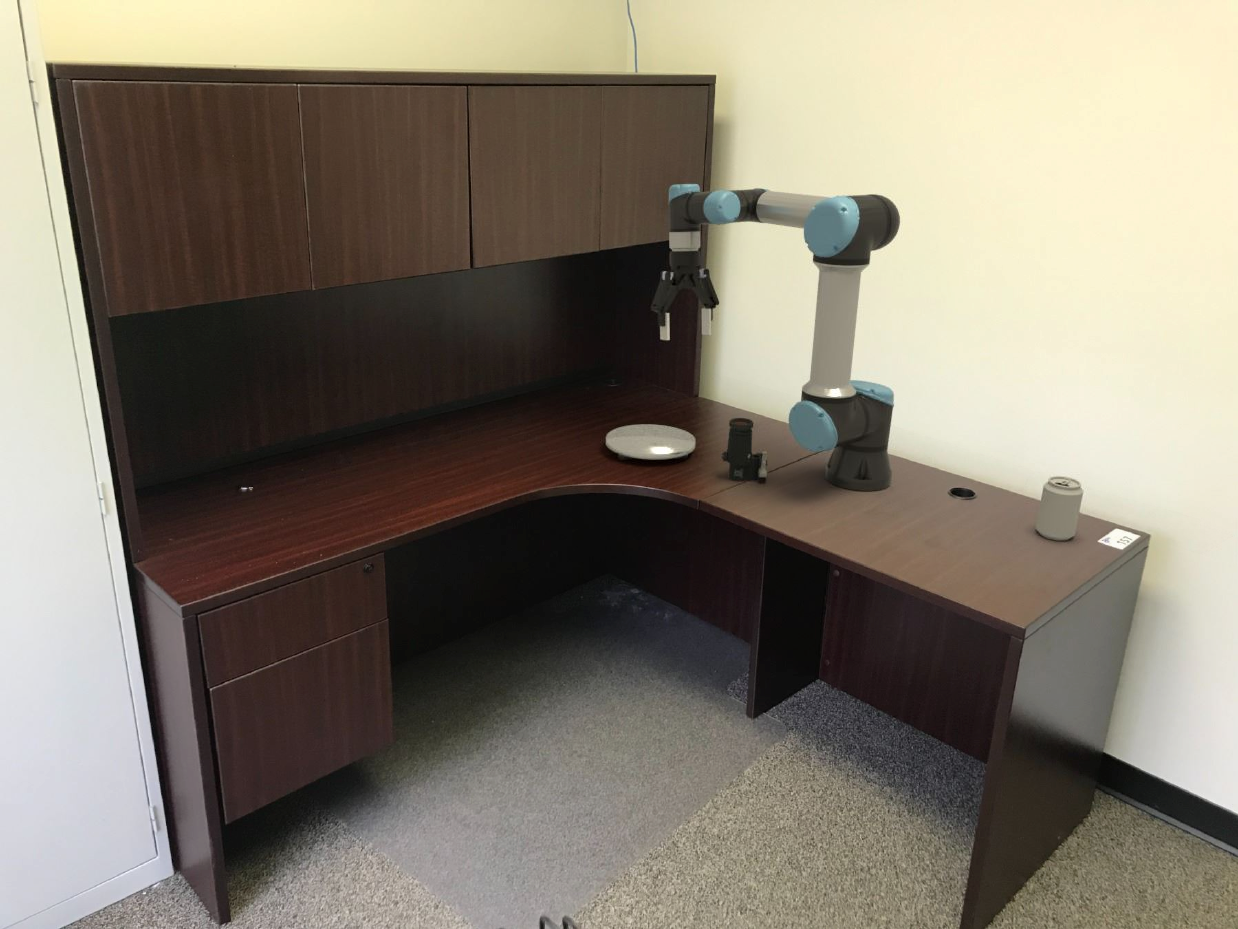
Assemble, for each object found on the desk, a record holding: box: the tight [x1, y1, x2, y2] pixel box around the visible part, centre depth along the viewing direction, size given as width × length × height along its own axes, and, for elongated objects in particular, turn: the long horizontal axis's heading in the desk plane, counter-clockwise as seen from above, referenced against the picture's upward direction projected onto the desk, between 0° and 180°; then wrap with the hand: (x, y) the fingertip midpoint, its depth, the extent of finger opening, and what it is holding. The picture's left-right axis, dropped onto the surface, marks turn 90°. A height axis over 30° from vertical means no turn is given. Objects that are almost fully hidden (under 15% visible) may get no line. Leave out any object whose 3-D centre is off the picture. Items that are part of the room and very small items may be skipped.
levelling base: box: [605, 423, 696, 461], centre depth 249 cm, size 22×22×4 cm
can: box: [1035, 475, 1084, 541], centre depth 207 cm, size 8×8×12 cm
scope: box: [721, 417, 768, 484], centre depth 232 cm, size 8×14×10 cm
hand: (686, 337), depth 251 cm, fingers open, 13 cm apart
